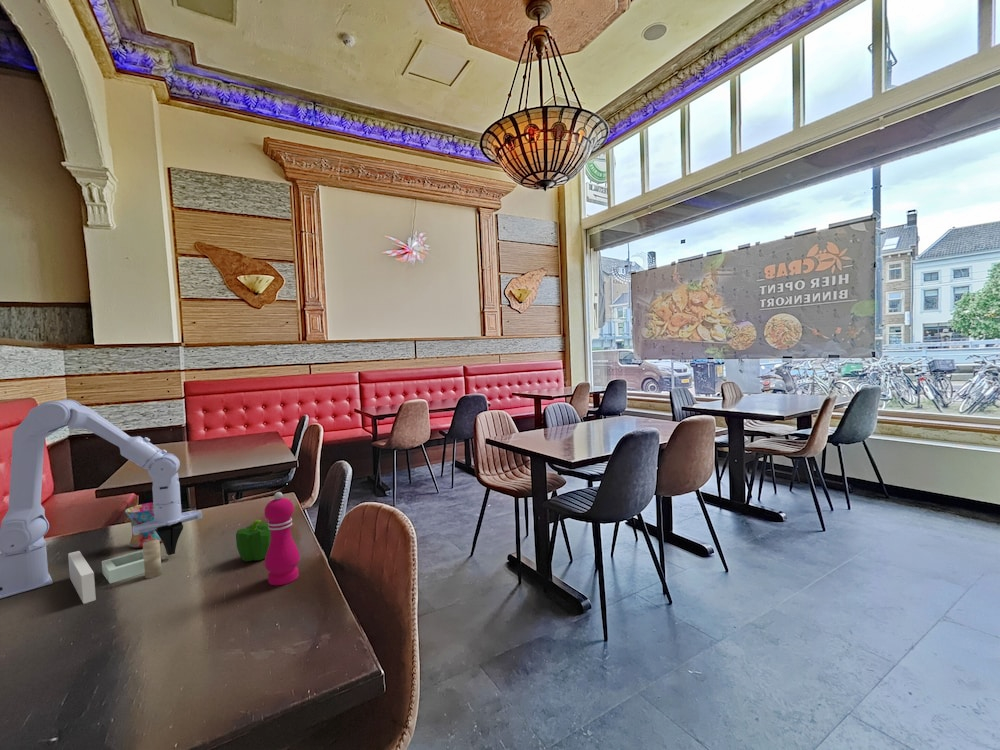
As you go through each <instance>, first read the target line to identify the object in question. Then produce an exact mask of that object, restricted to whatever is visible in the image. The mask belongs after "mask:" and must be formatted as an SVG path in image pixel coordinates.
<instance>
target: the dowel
mask: <svg viewBox="0 0 1000 750" xmlns="http://www.w3.org/2000/svg"><path fill="white" fill-rule="evenodd" d="M160 544H161V542H160V541H159V540H151V541H147V542H145V543H143V547H142V550H143V556H144V570H145V573H144V579H153V578H156V577H160V576H161V575H162V574H163V573H162V571H163V570H162V559H161V558H162V557H161V545H160Z"/></svg>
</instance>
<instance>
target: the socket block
mask: <svg viewBox="0 0 1000 750" xmlns="http://www.w3.org/2000/svg"><path fill="white" fill-rule="evenodd" d="M101 571H102V575H103V576H104V577H105V579H106V580H107V582H108V583H109V584H112V583H116V582H120V581H124V580H126V579H129V578H133V577H137V576H139V575H140V576H141V575H142V574H145V570H144V556H143V549H141V550H137V551H135V552H130V553H126V554H123V555H120V556H115V557H113V558H109V559H105V560H101Z"/></svg>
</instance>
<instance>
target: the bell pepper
mask: <svg viewBox="0 0 1000 750" xmlns="http://www.w3.org/2000/svg"><path fill="white" fill-rule="evenodd" d="M235 540H236V542H235V543H236V548H237V552H238V553H239V554H238V555H239V557H240V559H241V560H242V561H243V562H245V563H248V562H252V561H261V560H265V557H266V554H267V551H268V548H269V545H270V541H271V532H270V529H268V522H263V521H262V520H261V519H256V520H254V521H253V522H252V524H249V525H248V526H247V527H245V528H240V529H238V530H237V531H236V533H235Z"/></svg>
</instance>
